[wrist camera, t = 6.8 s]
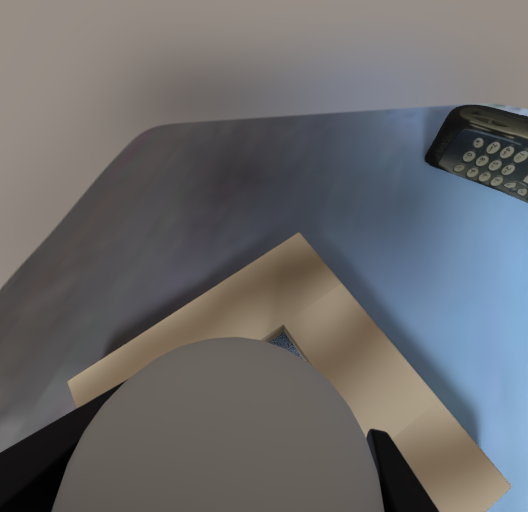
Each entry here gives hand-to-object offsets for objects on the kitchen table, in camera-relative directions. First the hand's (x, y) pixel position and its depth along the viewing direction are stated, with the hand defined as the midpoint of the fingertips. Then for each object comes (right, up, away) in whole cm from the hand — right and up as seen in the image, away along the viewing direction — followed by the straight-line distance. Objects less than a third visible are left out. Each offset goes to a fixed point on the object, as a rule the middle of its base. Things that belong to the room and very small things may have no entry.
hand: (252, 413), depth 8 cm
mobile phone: (+20, +9, +15) cm, 26 cm away
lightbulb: (0, -4, +6) cm, 7 cm away
